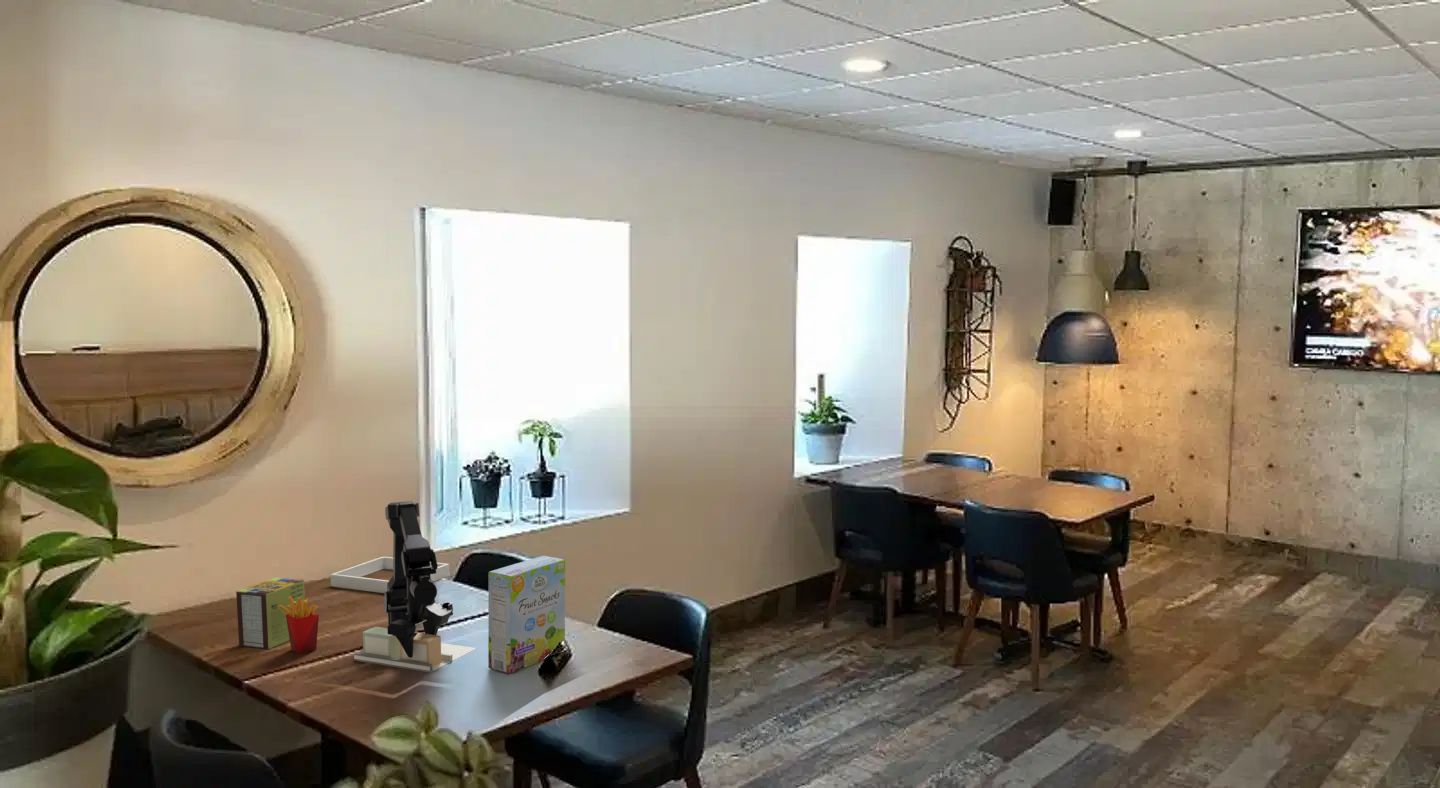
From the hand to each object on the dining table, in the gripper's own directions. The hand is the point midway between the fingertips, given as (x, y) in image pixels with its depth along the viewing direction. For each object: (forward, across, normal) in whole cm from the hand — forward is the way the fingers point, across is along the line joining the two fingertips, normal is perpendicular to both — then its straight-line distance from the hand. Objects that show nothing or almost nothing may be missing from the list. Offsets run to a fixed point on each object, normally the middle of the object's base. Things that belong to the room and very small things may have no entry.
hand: (420, 652), depth 283 cm
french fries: (+4, -3, +38) cm, 38 cm away
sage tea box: (+3, 0, +12) cm, 12 cm away
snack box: (+4, +14, -24) cm, 28 cm away
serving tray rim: (+4, +64, +62) cm, 90 cm away
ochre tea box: (+3, 0, 0) cm, 3 cm away
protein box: (+4, +2, +52) cm, 53 cm away
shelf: (+4, +5, +6) cm, 8 cm away
